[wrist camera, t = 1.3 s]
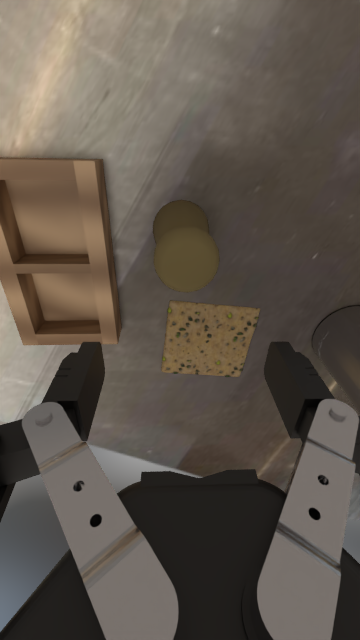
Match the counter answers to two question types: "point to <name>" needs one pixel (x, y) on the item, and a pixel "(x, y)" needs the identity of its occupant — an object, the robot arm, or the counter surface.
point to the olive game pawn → (184, 247)
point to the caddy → (58, 251)
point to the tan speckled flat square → (207, 338)
